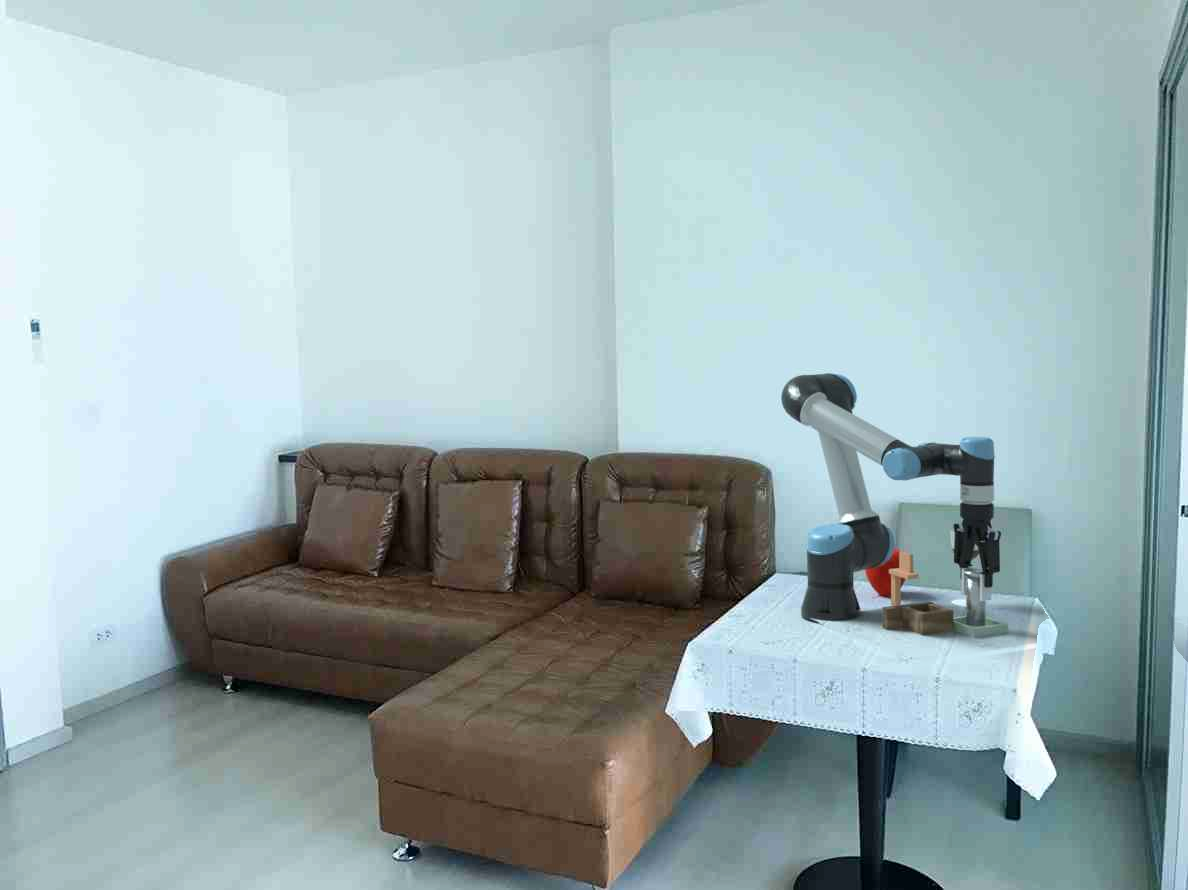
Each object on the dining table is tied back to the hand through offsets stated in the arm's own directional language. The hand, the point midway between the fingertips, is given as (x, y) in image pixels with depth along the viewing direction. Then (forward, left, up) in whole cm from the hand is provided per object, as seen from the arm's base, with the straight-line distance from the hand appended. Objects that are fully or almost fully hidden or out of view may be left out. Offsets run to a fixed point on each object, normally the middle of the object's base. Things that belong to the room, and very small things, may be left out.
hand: (976, 597), depth 235 cm
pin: (0, 0, -7) cm, 7 cm away
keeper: (-7, -16, -3) cm, 17 cm away
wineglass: (-24, +18, -9) cm, 31 cm away
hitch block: (-6, -12, -9) cm, 16 cm away
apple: (-41, +5, -9) cm, 42 cm away
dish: (0, 0, -9) cm, 9 cm away
